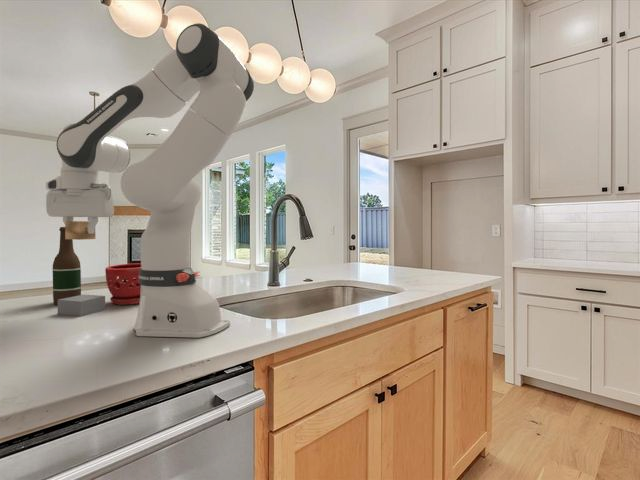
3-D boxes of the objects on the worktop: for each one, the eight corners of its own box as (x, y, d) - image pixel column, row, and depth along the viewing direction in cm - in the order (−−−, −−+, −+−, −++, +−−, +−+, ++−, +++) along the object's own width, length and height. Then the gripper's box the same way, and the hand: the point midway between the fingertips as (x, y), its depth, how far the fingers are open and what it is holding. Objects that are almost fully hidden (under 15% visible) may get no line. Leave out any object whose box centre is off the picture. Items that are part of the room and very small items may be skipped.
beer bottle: (86, 302, 116) (85, 227, 115) (59, 306, 109) (57, 227, 108) (75, 299, 120) (73, 226, 119) (47, 303, 113) (46, 226, 113)
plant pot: (123, 297, 123) (122, 262, 123) (160, 298, 122) (159, 263, 122) (96, 306, 110) (95, 267, 110) (137, 307, 109) (136, 267, 109)
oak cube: (95, 239, 104) (95, 221, 104) (79, 239, 99) (79, 221, 99) (81, 238, 105) (81, 221, 105) (65, 239, 100) (65, 221, 100)
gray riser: (105, 309, 106) (105, 296, 106) (81, 316, 98) (80, 301, 98) (83, 307, 108) (83, 294, 108) (57, 314, 100) (57, 299, 100)
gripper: (119, 184, 102) (120, 233, 102) (62, 185, 107) (62, 232, 108) (100, 182, 96) (101, 234, 96) (40, 183, 101) (41, 232, 101)
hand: (80, 233), depth 102 cm, fingers closed on oak cube, 5 cm apart
